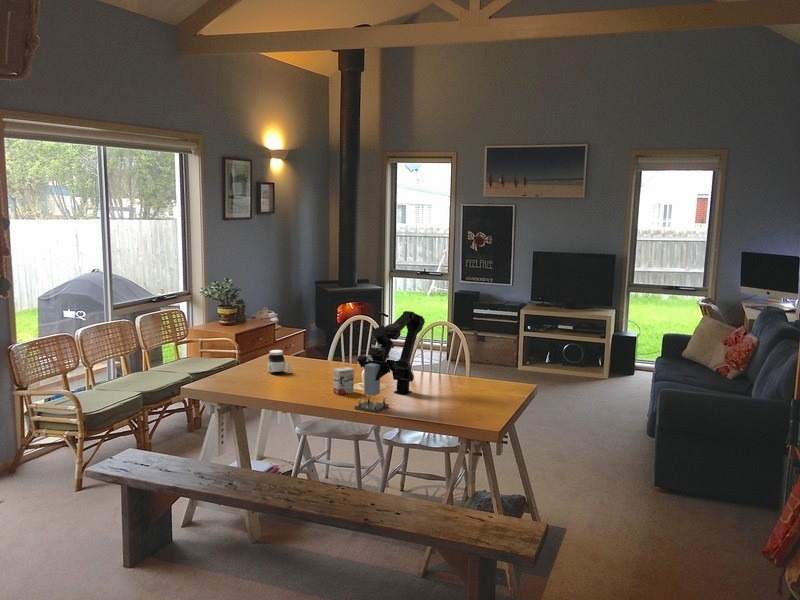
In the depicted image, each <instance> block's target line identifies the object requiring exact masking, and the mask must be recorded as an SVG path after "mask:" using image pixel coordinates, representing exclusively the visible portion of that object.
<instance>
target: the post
mask: <svg viewBox="0 0 800 600" xmlns="http://www.w3.org/2000/svg"><path fill="white" fill-rule="evenodd" d="M379 370H380V364H373V363H369V364H367V365H365V367H364V381H363V382H364V385H363V386H364V387H363V389H364V393H363V394H364V395H366V396H367V395H370V396H373V397H374V396H377V395H379V394H380V393H381V391H380V390H381V378H380V379H379V380H377V381H376V380H375V379H376V376H377V374H378V372H379Z"/></svg>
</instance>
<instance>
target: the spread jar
mask: <svg viewBox="0 0 800 600" xmlns="http://www.w3.org/2000/svg"><path fill="white" fill-rule="evenodd" d="M267 364H268V365H267V369H268V373H269V374H270V373H271V374H270V375H282V374H284V372H285V369H286V372H287V374H289V373H290V374H291V373H292V367H291V364H290V362H289V361H288V360H285V356H284V350H281V349H272V350H270V351H269V355H268V358H267ZM281 373H282V374H281Z"/></svg>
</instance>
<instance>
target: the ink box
mask: <svg viewBox="0 0 800 600" xmlns="http://www.w3.org/2000/svg"><path fill="white" fill-rule="evenodd" d="M354 377H355V369H354V368H352V367H349V366H345V367H336V368H334V369H333V393H334V394H336V395H338V396H341V394H342V395H348V394H354V383H355V382H354V380H355V378H354ZM347 393H348V394H347Z"/></svg>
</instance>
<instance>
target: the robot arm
mask: <svg viewBox="0 0 800 600" xmlns="http://www.w3.org/2000/svg"><path fill="white" fill-rule="evenodd" d="M425 322H426V320H425V318H424V316H423V315H421V314H420V315H419V314H418V313H416V312H413V311H410V310H409V311H408V310H405V311H403V312H402V313H401V315H400V316H399V317H398V318H397V319H396V320H395V321H394V322H392V323H390V324H389V323H388V324H387V325H385V326H384V325H381V324H380V325H379V326H378V327H376V328H374V329H373V330H372V332H371V334H372V337H373V339H374V340H375V341H376V343H377V345H378V346H377V347H371V346H370V347H369V348H368V352H367V355H369V356H370V359H369V358H368V356H366V355H358V356H357V358H356V361H357V362H358V364H359V366H360V367H361V368H365V365H367V364H369V363H373V364H380V370H379V372H378V374H377V376H376V379H375V380H376V381H377V380H379V379H380V380H381V378H383V377H384V376H385V375H387V374H389V373H392V379H393V381H394V380H395V381H396V390H395V391H393V393H394V394H400V395H404V396H405V395H408V394H411V393H412V392H413V391H412V390H410V382H413V381H414V379H415V378H414V377H415V375H414V374H413V372H412V365H411V358H412V355H413V352H414V347H415V344H416V339H417V337H418V334H419V333H420V332H421V331H422V330H423V328H424V325H425ZM405 327H406V329H407V333H406V336H405V339H404V343H403V345H402V350H401V354H400V358H399V359H398V360H395V359H390V355H389V354H390V352H391V349H394V348H395V344H394V342H393V341H392V340H394V341H397V340H398V339H399V338H400V337H401V335H402V334H401V332H402V330H403V329H404V328H405Z"/></svg>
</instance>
